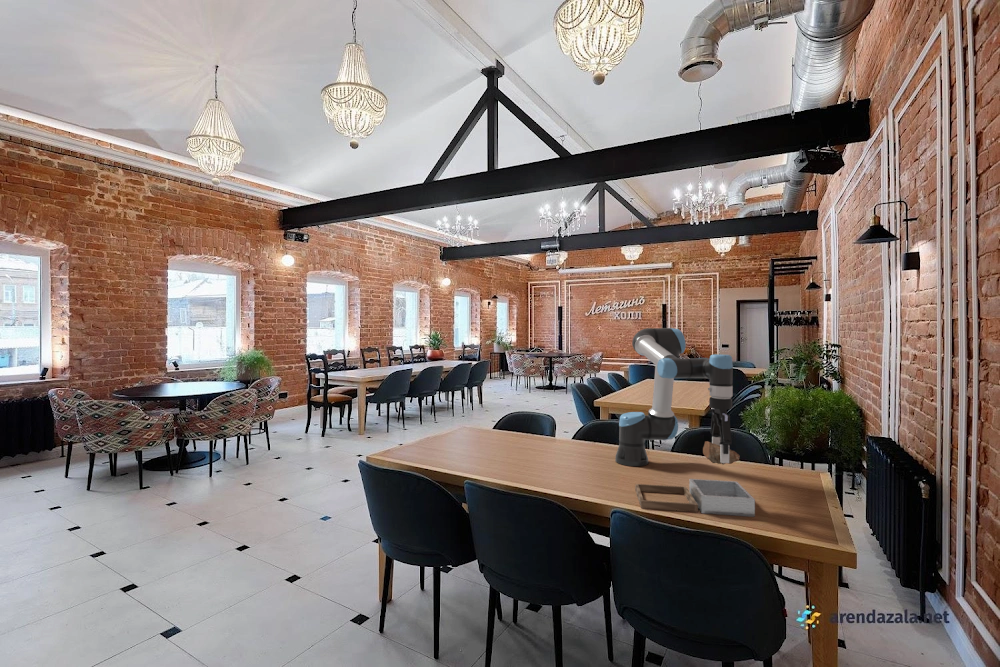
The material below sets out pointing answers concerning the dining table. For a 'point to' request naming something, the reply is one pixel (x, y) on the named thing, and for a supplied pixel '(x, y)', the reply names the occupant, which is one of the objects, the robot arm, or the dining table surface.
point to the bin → (722, 497)
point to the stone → (718, 453)
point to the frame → (662, 505)
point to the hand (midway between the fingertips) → (720, 458)
